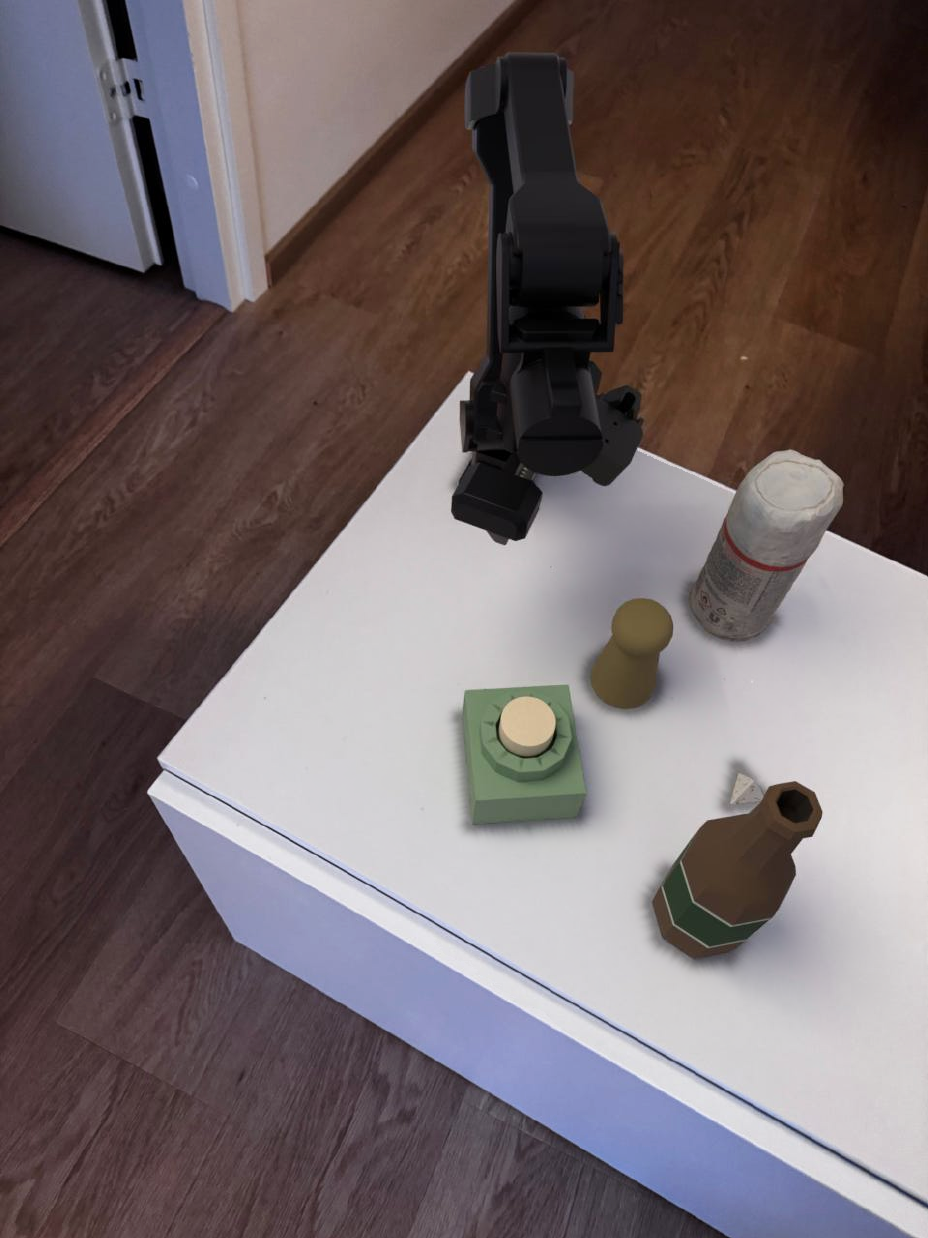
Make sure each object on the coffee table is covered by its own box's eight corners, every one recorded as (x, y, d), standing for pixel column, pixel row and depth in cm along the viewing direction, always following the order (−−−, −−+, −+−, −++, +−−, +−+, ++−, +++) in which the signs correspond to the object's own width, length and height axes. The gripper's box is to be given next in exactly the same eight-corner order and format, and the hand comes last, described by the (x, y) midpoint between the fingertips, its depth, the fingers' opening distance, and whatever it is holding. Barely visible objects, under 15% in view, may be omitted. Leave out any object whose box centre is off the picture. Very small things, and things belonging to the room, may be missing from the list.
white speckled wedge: (754, 778, 87) (760, 755, 85) (766, 802, 85) (773, 778, 83) (717, 783, 86) (722, 759, 85) (728, 807, 84) (734, 783, 82)
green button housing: (461, 718, 87) (465, 678, 81) (560, 712, 88) (572, 672, 82) (471, 825, 82) (476, 791, 76) (576, 817, 83) (590, 783, 76)
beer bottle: (742, 972, 77) (861, 881, 56) (644, 951, 77) (728, 853, 57) (746, 877, 81) (860, 760, 60) (654, 857, 81) (735, 734, 61)
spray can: (778, 648, 93) (860, 519, 76) (693, 644, 92) (755, 514, 76) (765, 575, 97) (840, 438, 80) (684, 571, 97) (741, 433, 80)
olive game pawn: (632, 721, 88) (658, 661, 79) (577, 684, 90) (596, 621, 80) (666, 675, 91) (695, 612, 81) (612, 640, 92) (634, 574, 83)
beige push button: (496, 709, 80) (497, 697, 78) (548, 706, 80) (551, 694, 79) (501, 758, 78) (504, 747, 76) (556, 755, 78) (559, 744, 76)
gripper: (602, 496, 66) (570, 618, 79) (678, 326, 75) (639, 460, 89) (451, 443, 68) (445, 571, 81) (544, 284, 77) (525, 422, 90)
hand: (520, 504), depth 85 cm, fingers open, 9 cm apart
